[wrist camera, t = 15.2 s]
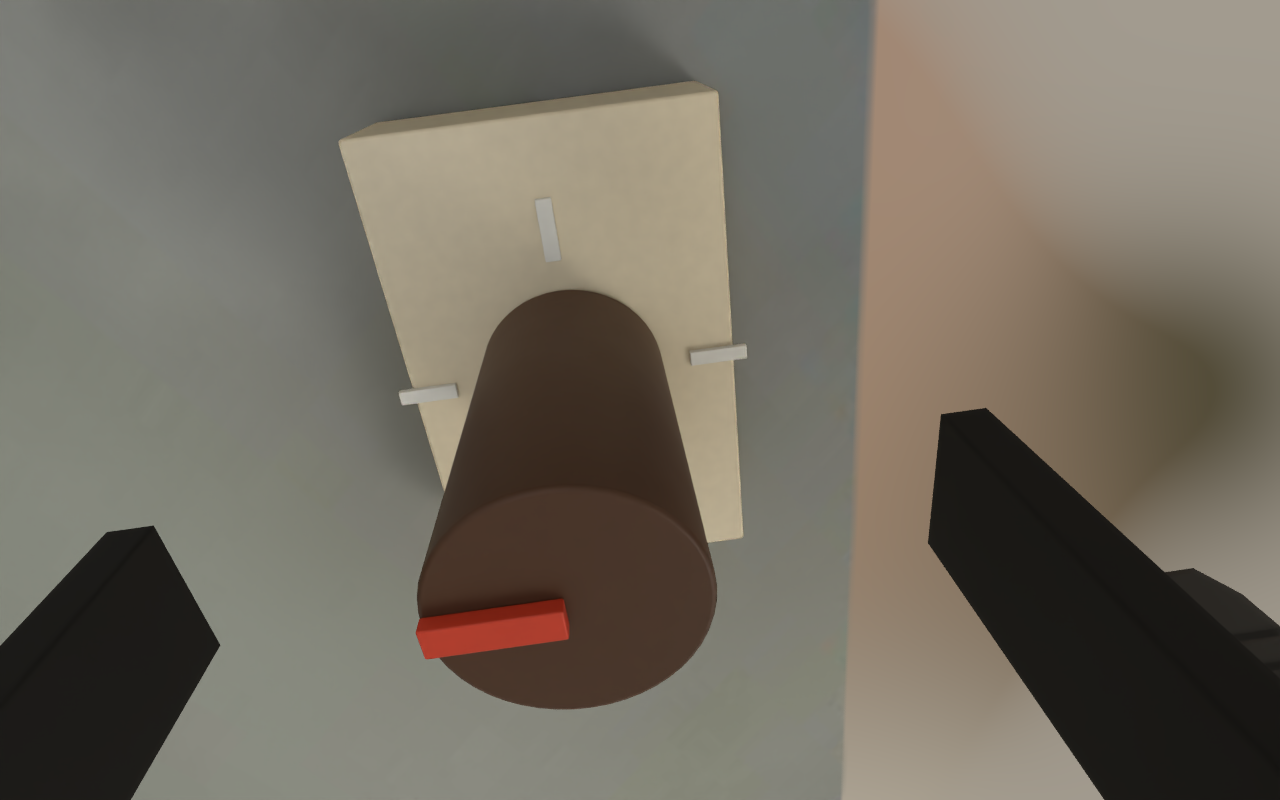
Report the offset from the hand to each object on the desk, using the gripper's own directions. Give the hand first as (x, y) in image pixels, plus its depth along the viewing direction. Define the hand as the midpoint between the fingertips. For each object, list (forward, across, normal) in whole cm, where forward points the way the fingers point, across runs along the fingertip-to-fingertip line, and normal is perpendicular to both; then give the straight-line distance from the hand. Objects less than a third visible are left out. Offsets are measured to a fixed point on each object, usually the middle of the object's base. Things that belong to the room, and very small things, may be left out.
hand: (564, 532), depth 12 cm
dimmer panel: (+9, 0, 0) cm, 9 cm away
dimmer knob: (+6, 0, 0) cm, 6 cm away
